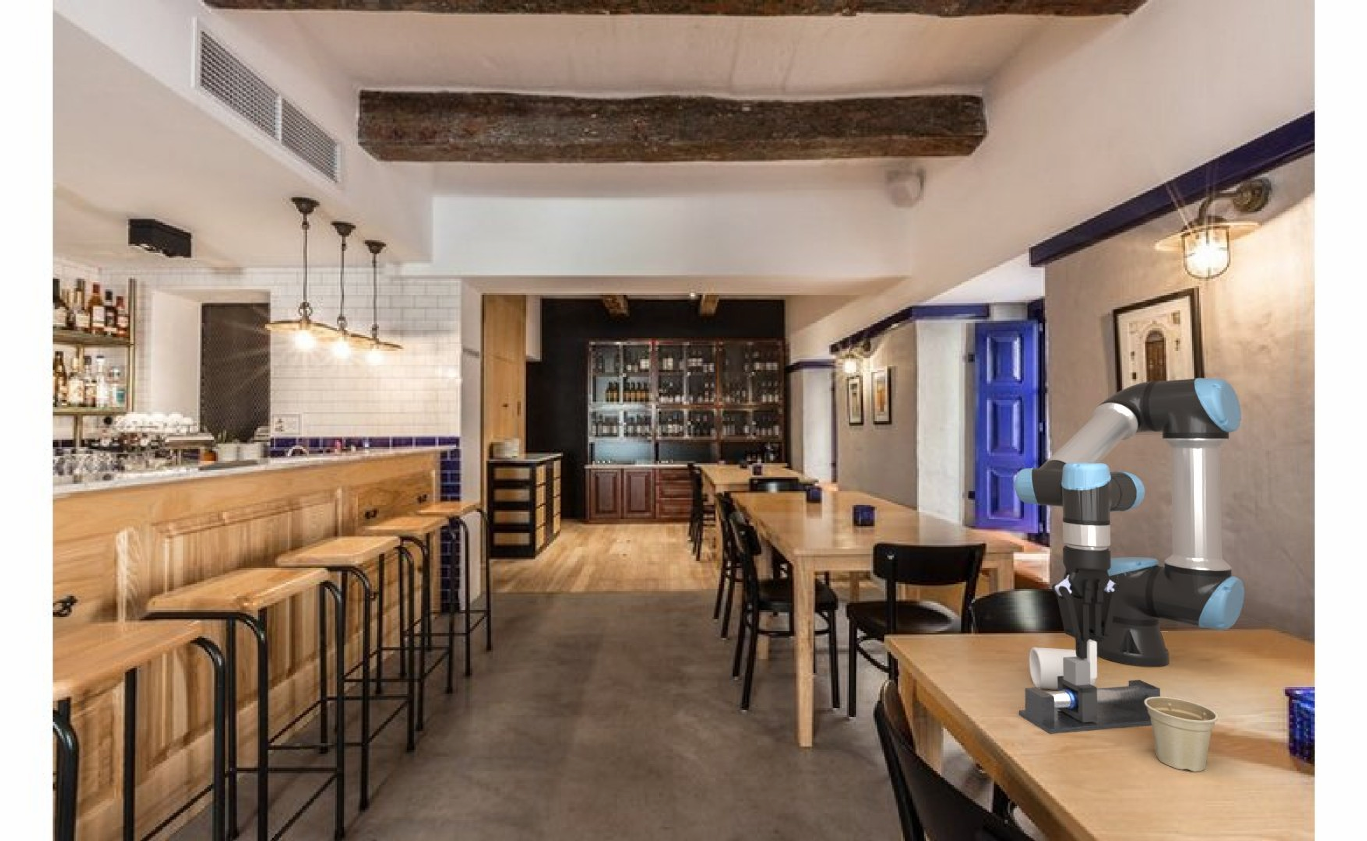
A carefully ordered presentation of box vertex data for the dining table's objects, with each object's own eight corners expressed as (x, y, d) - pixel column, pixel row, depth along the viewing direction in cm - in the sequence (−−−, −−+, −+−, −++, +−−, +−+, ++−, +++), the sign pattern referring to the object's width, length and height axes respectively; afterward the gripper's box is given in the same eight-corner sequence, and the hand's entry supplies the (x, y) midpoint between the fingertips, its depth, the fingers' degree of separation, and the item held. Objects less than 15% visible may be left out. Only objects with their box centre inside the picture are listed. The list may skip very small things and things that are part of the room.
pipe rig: (1131, 705, 127) (1131, 676, 127) (1169, 723, 119) (1168, 691, 119) (1018, 714, 122) (1018, 683, 122) (1049, 733, 114) (1049, 700, 115)
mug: (1096, 698, 130) (1095, 657, 131) (1041, 694, 132) (1041, 654, 133) (1073, 676, 142) (1072, 639, 142) (1023, 673, 144) (1022, 636, 144)
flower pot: (1220, 761, 105) (1220, 707, 105) (1217, 784, 98) (1216, 726, 98) (1149, 743, 111) (1148, 691, 111) (1140, 763, 104) (1140, 708, 104)
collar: (1071, 707, 123) (1071, 653, 123) (1097, 721, 117) (1096, 664, 118) (1057, 708, 123) (1057, 654, 123) (1082, 722, 117) (1081, 665, 117)
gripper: (1100, 542, 126) (1102, 666, 125) (1040, 543, 124) (1041, 670, 123) (1134, 548, 119) (1135, 680, 118) (1070, 550, 116) (1072, 685, 116)
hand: (1087, 675), depth 120 cm, fingers closed
